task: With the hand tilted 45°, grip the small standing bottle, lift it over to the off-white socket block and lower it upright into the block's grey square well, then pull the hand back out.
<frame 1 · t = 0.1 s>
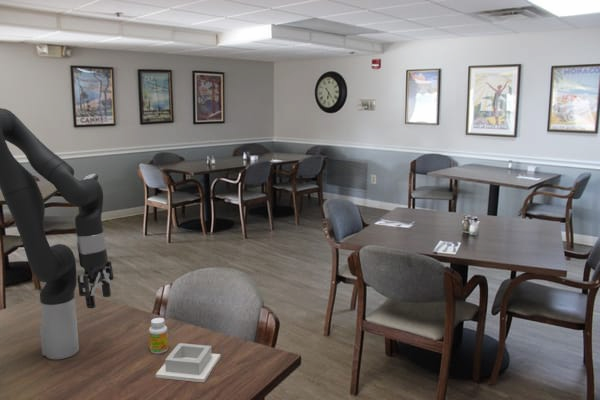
hand: (99, 302, 149), 17 cm above the table, tool pointing down, fingers open, 8 cm apart
supplement bottle: (159, 350, 156), on the table
socket block: (189, 367, 146), on the table
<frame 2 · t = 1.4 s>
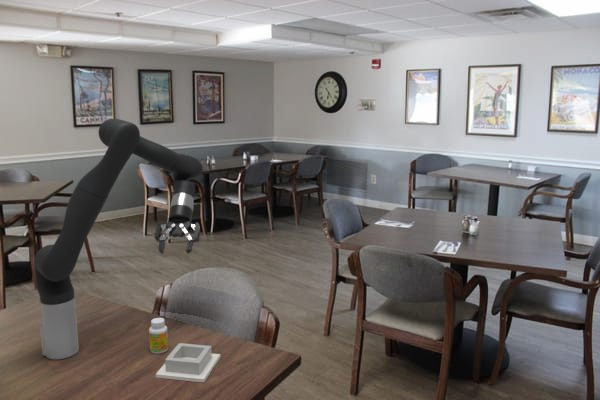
hand: (174, 252, 163), 27 cm above the table, tool tilted 45°, fingers open, 8 cm apart
nothing on the table moved.
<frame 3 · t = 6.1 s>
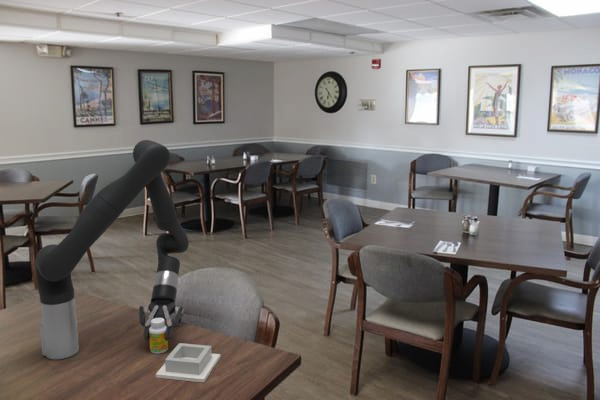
hand: (157, 339, 154), 4 cm above the table, tool tilted 45°, fingers closed on supplement bottle, 5 cm apart
supplement bottle: (159, 350, 156), on the table, touching gripper
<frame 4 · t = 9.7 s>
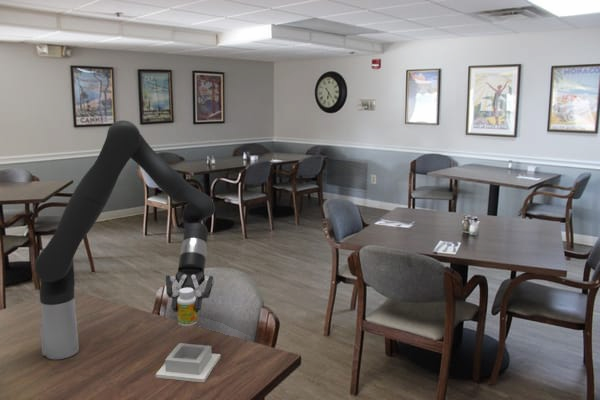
hand: (185, 311, 141), 18 cm above the table, tool tilted 45°, fingers closed on supplement bottle, 5 cm apart
supplement bottle: (187, 322, 144), point 14 cm above the table, touching gripper
when the fingers open (6 cm above the table, at t = 13.2 s): supplement bottle drops 1 cm, resting on socket block.
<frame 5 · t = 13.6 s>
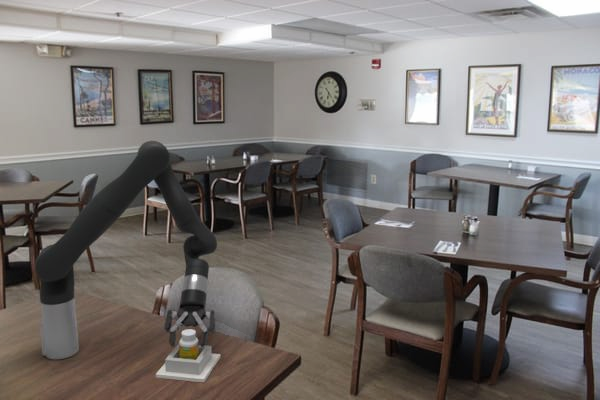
hand: (187, 346, 144), 7 cm above the table, tool tilted 45°, fingers open, 8 cm apart
supplement bottle: (189, 363, 146), point 1 cm above the table, touching socket block
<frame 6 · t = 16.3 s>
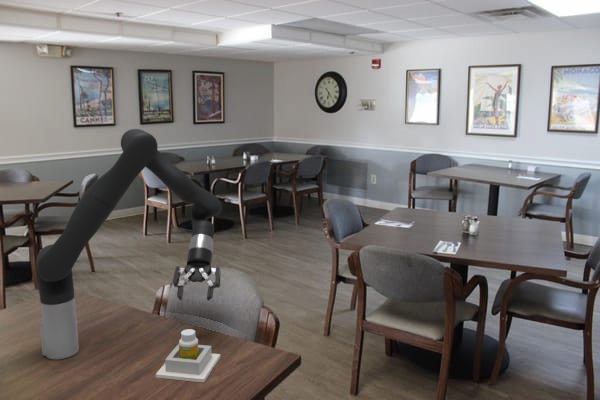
hand: (194, 299, 153), 17 cm above the table, tool tilted 45°, fingers open, 8 cm apart
nothing on the table moved.
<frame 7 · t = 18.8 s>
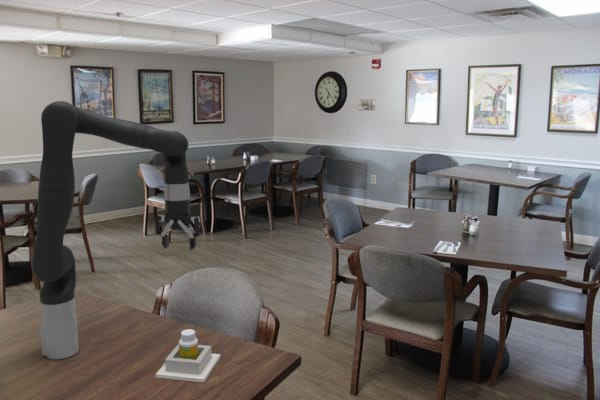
hand: (179, 248, 158), 30 cm above the table, tool pointing down, fingers open, 8 cm apart
nothing on the table moved.
at the end: supplement bottle 0.2 cm off-centre on the socket block, point 0.8 cm above the socket block's base; supplement bottle tilted 0°; the gripper is holding nothing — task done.
